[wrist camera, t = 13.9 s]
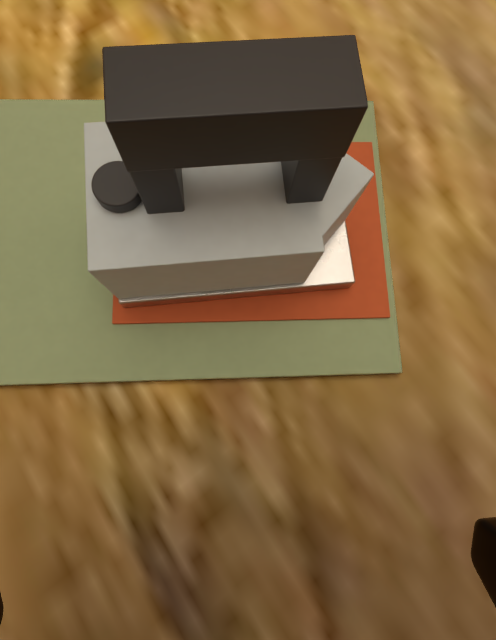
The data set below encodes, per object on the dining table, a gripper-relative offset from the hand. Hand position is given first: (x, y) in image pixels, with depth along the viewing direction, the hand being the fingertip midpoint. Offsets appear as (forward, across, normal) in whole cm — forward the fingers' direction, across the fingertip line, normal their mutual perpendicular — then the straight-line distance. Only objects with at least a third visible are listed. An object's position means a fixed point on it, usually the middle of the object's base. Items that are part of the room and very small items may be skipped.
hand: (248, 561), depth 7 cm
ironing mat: (+16, +5, -6) cm, 17 cm away
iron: (+14, -1, -5) cm, 15 cm away
